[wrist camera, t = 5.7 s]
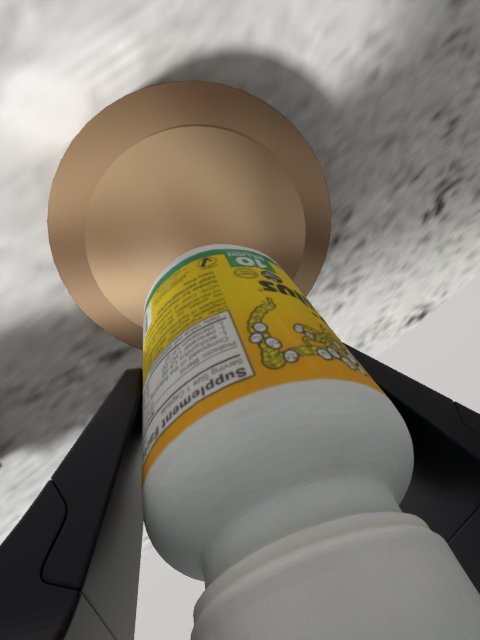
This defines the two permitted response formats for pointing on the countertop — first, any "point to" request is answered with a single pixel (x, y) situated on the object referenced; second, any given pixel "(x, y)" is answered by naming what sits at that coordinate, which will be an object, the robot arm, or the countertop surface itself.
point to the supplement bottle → (282, 467)
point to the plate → (181, 195)
